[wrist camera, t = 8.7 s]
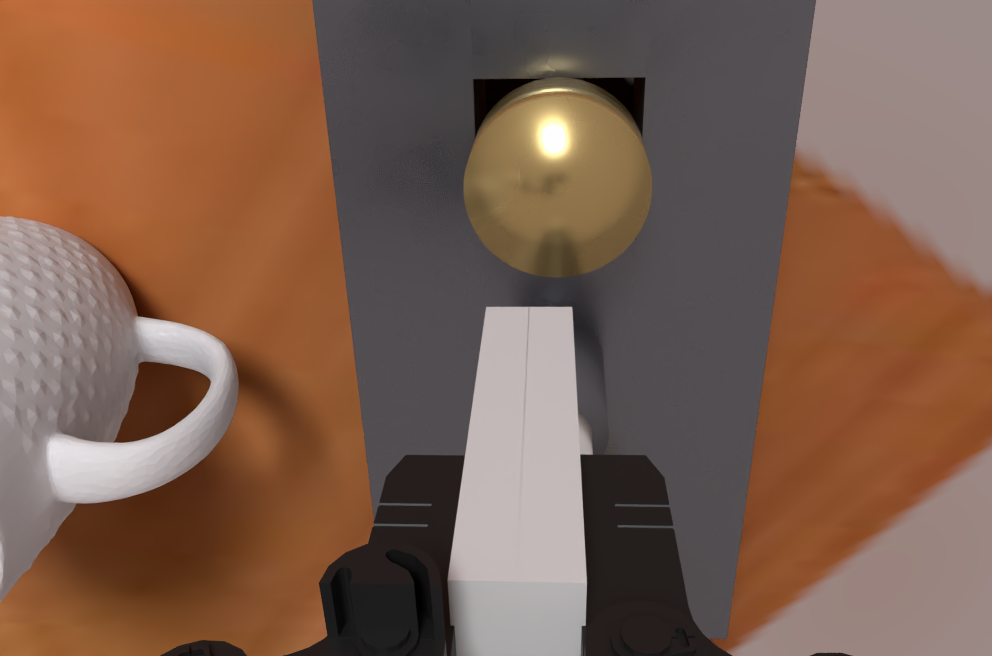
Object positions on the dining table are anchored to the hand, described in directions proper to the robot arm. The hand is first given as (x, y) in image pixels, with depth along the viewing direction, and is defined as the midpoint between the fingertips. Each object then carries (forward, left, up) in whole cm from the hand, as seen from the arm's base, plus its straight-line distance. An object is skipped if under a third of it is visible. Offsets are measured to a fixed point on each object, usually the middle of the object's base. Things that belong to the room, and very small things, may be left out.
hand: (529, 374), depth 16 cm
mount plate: (0, -7, -16) cm, 18 cm away
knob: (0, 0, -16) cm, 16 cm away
